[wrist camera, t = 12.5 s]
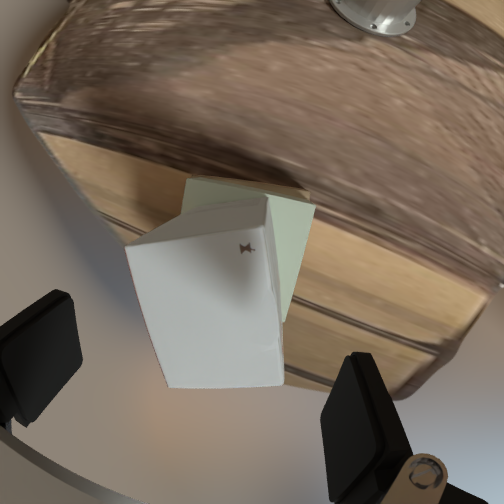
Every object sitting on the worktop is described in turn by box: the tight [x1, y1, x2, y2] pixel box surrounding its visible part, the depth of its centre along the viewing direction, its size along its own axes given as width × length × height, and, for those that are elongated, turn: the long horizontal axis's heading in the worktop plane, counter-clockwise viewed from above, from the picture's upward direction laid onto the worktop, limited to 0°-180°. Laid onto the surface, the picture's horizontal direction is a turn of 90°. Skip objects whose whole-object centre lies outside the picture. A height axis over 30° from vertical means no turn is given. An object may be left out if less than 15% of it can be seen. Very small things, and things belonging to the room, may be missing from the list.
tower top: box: [181, 177, 316, 322], centre depth 27 cm, size 11×11×5 cm
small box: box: [124, 197, 284, 388], centre depth 19 cm, size 8×6×13 cm
